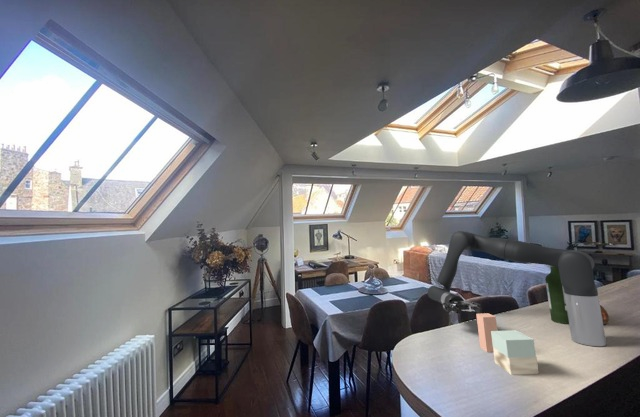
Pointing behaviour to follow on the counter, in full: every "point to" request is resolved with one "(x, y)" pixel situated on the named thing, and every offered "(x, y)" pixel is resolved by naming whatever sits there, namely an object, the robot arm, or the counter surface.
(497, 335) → the tower top block
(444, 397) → the counter surface
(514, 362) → the tower base block
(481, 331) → the peach block
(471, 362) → the counter surface
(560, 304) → the wine bottle
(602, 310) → the tin
